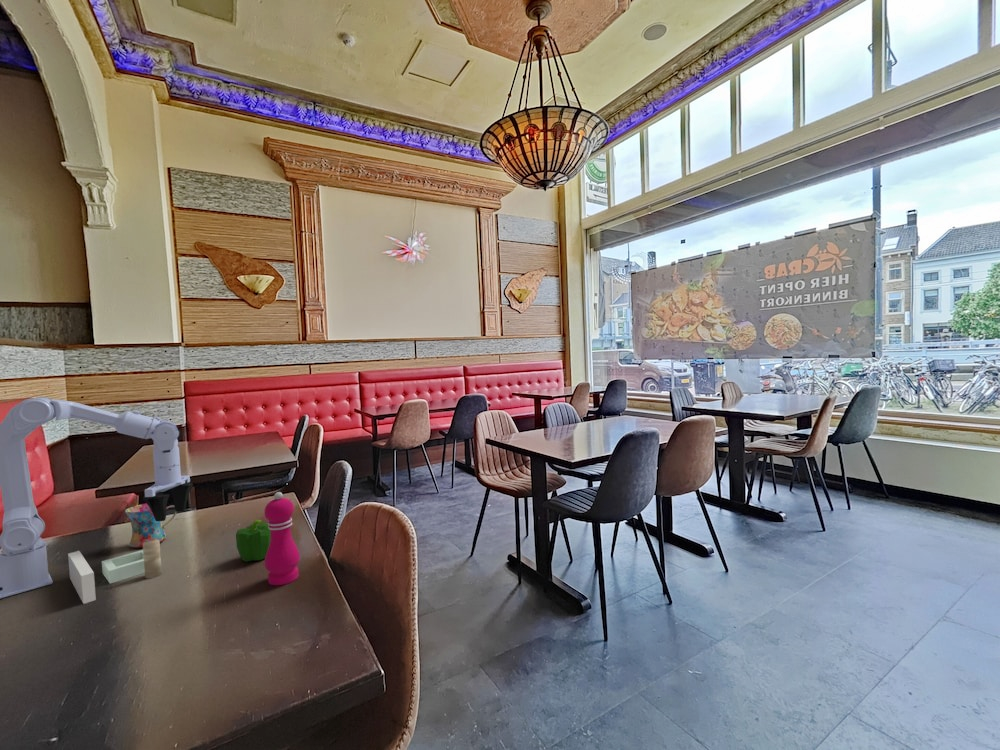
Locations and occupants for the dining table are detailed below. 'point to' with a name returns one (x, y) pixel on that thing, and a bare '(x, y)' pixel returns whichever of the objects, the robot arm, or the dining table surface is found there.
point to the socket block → (123, 566)
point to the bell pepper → (253, 541)
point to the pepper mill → (281, 542)
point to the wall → (82, 577)
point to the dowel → (152, 558)
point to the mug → (145, 525)
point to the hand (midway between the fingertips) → (170, 515)
